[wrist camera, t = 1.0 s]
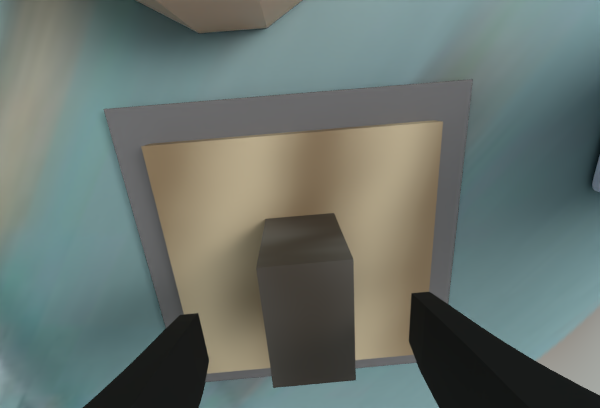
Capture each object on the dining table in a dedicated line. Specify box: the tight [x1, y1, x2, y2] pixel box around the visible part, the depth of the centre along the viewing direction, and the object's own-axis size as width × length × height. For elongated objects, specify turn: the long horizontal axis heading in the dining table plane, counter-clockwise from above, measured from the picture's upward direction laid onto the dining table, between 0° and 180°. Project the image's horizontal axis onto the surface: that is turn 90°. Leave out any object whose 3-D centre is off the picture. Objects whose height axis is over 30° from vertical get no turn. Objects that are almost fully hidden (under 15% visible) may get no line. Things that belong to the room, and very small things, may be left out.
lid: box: [141, 120, 443, 388], centre depth 12 cm, size 12×12×5 cm
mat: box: [104, 79, 473, 382], centre depth 15 cm, size 15×15×1 cm
